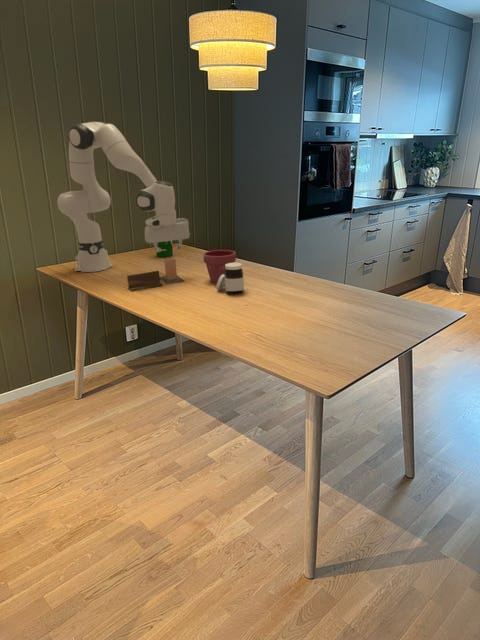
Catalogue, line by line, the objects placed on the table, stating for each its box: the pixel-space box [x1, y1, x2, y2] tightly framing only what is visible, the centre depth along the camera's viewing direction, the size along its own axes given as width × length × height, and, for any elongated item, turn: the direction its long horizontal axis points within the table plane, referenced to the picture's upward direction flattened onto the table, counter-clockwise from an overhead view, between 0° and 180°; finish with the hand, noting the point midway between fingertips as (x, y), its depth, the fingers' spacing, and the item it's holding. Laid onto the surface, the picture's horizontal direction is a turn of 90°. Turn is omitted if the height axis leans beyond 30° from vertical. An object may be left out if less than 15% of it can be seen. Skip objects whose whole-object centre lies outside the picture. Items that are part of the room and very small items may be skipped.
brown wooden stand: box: [126, 270, 164, 292], centre depth 205 cm, size 5×14×6 cm, turn 118°
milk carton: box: [155, 241, 174, 258], centre depth 260 cm, size 9×9×20 cm
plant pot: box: [203, 249, 237, 284], centre depth 209 cm, size 14×14×13 cm
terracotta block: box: [163, 257, 178, 280], centre depth 215 cm, size 4×4×9 cm
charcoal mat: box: [160, 275, 185, 285], centre depth 216 cm, size 12×8×1 cm, turn 28°
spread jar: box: [215, 262, 245, 295], centre depth 194 cm, size 12×11×12 cm
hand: (168, 250), depth 212 cm, fingers open, 8 cm apart
